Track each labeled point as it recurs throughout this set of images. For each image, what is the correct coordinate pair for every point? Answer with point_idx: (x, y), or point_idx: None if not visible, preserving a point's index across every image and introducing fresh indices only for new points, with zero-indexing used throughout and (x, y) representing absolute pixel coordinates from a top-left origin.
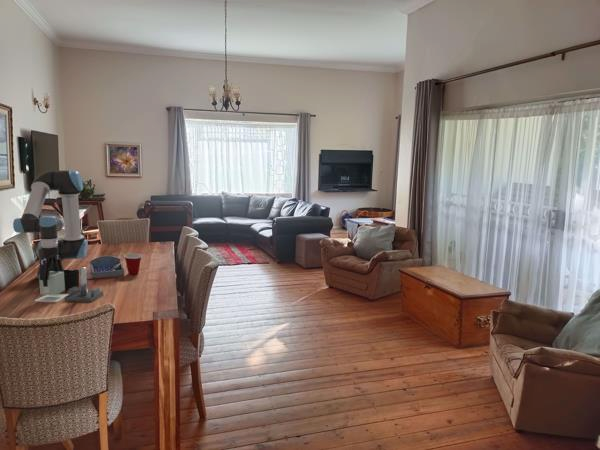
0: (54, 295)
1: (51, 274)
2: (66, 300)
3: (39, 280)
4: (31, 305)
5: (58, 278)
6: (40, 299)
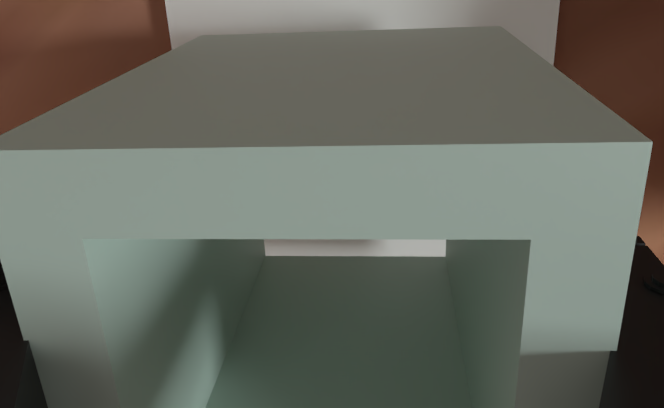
0: None
1: (504, 244)
2: None
3: (79, 99)
4: (16, 40)
5: None
6: (223, 20)
